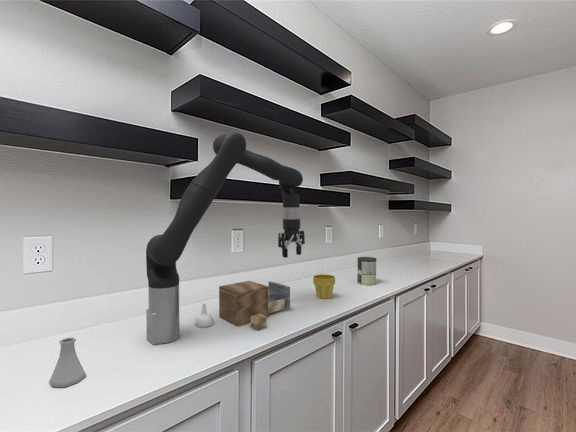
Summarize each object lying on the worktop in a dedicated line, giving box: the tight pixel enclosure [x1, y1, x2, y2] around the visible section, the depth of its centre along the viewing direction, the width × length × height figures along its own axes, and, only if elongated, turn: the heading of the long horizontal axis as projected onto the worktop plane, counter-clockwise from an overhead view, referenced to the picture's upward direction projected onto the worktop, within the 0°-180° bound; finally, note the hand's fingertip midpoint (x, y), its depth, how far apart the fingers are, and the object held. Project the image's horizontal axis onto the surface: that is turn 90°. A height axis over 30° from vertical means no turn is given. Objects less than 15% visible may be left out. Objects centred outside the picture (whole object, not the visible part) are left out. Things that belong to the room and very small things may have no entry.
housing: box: [218, 280, 269, 327], centre depth 122 cm, size 14×12×12 cm
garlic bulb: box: [194, 303, 214, 328], centre depth 115 cm, size 6×6×8 cm
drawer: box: [267, 280, 291, 314], centre depth 130 cm, size 15×12×9 cm
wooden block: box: [250, 314, 268, 332], centre depth 112 cm, size 4×4×4 cm
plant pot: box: [312, 273, 336, 300], centre depth 150 cm, size 10×10×10 cm
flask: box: [49, 336, 87, 388], centre depth 78 cm, size 7×7×10 cm
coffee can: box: [356, 256, 377, 287], centre depth 177 cm, size 10×10×14 cm
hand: (292, 256), depth 136 cm, fingers open, 8 cm apart
